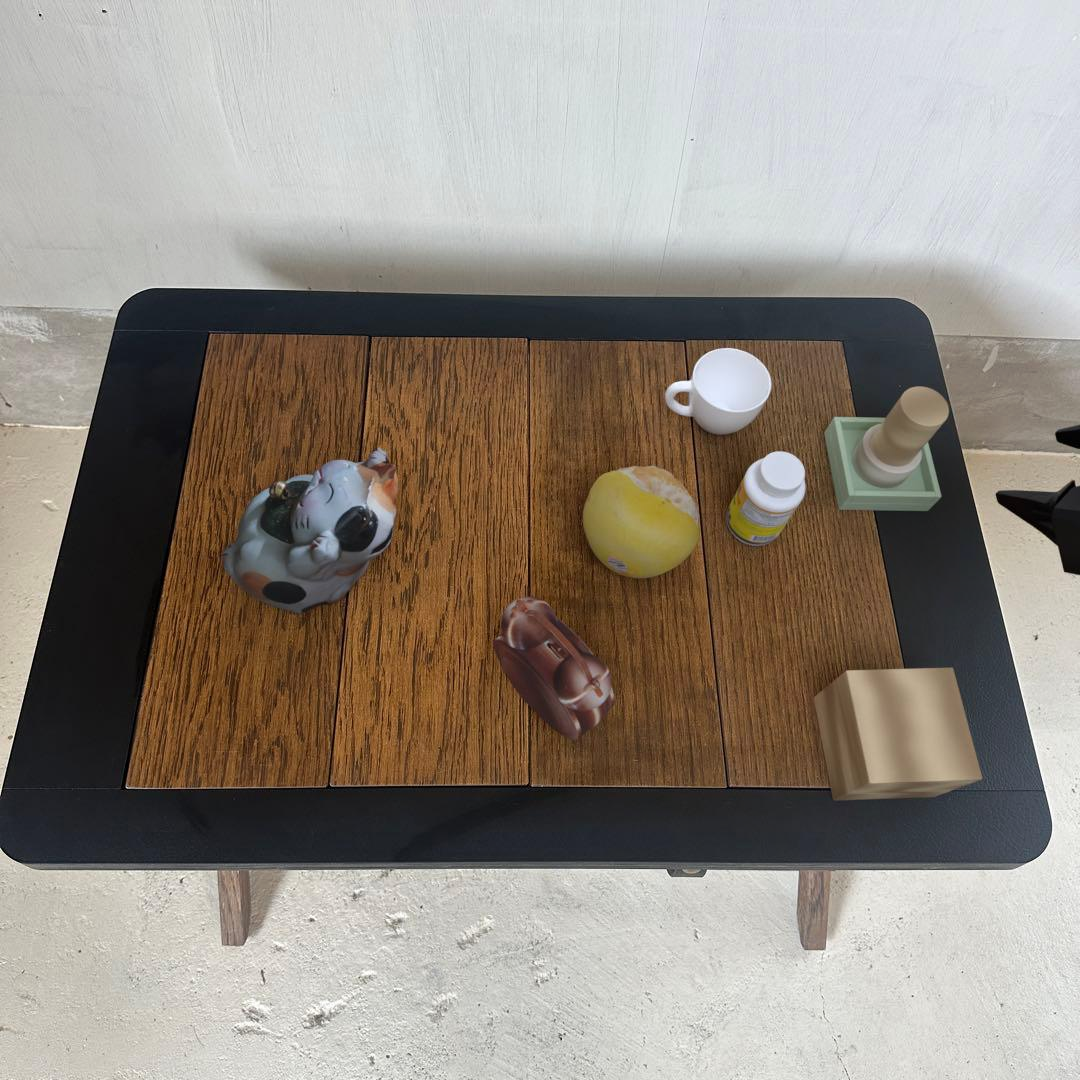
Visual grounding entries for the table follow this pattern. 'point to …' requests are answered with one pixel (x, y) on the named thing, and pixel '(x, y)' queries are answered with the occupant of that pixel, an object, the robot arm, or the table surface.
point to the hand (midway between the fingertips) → (1027, 465)
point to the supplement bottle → (766, 498)
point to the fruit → (640, 521)
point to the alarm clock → (553, 668)
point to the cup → (723, 391)
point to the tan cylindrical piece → (900, 438)
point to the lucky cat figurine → (314, 533)
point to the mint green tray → (860, 495)
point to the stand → (895, 734)
